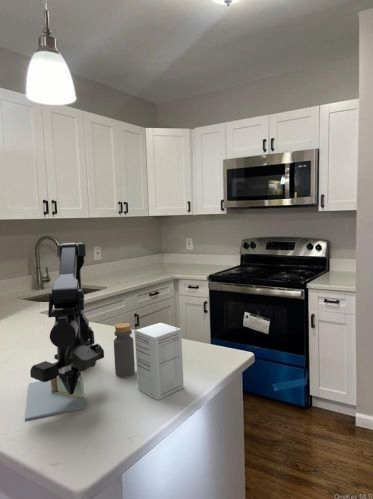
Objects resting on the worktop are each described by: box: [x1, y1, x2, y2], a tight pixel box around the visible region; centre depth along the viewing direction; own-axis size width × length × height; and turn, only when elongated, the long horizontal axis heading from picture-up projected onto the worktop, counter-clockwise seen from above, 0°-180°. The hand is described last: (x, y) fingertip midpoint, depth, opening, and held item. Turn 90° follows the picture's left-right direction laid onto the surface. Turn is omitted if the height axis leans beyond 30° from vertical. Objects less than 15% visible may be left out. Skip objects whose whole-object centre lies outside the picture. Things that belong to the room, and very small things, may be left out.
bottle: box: [113, 322, 136, 378], centre depth 109 cm, size 6×6×15 cm
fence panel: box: [57, 376, 85, 396], centre depth 96 cm, size 8×1×4 cm, turn 65°
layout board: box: [24, 375, 87, 422], centre depth 97 cm, size 14×20×1 cm
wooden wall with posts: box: [51, 372, 82, 392], centre depth 103 cm, size 2×11×5 cm, turn 157°
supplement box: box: [134, 322, 185, 401], centre depth 98 cm, size 10×9×17 cm
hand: (71, 393), depth 93 cm, fingers closed
